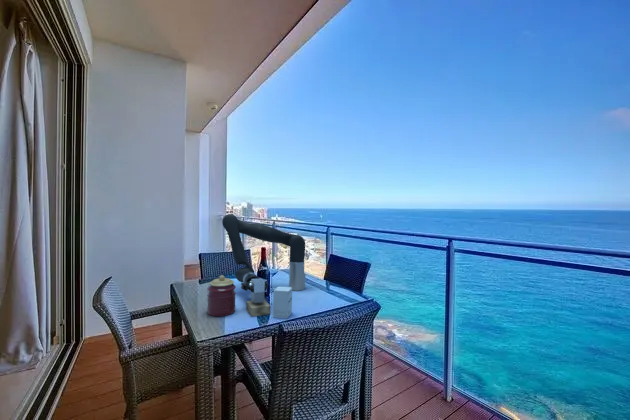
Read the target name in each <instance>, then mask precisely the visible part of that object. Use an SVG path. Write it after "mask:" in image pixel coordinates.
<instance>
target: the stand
mask: <svg viewBox="0 0 630 420" xmlns="http://www.w3.org/2000/svg"><path fill="white" fill-rule="evenodd" d="M245 301H246V305H245V310H246V311H247V313H248V314H249V315H250V318H252V317H254V318H255V317H259V316H267V315H270V314H271V305H270V303H268V301H267V300H266V299H265V298H264V302H260V303H253V301H252V300H251V299H250V300H245Z"/></svg>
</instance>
